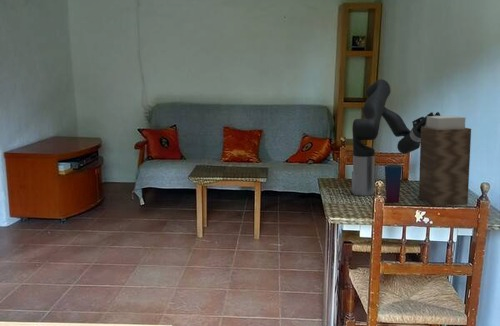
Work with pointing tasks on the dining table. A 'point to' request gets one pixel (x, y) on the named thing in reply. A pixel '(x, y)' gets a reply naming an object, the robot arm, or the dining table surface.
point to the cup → (393, 182)
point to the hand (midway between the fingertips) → (435, 114)
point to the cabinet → (444, 166)
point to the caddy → (445, 122)
